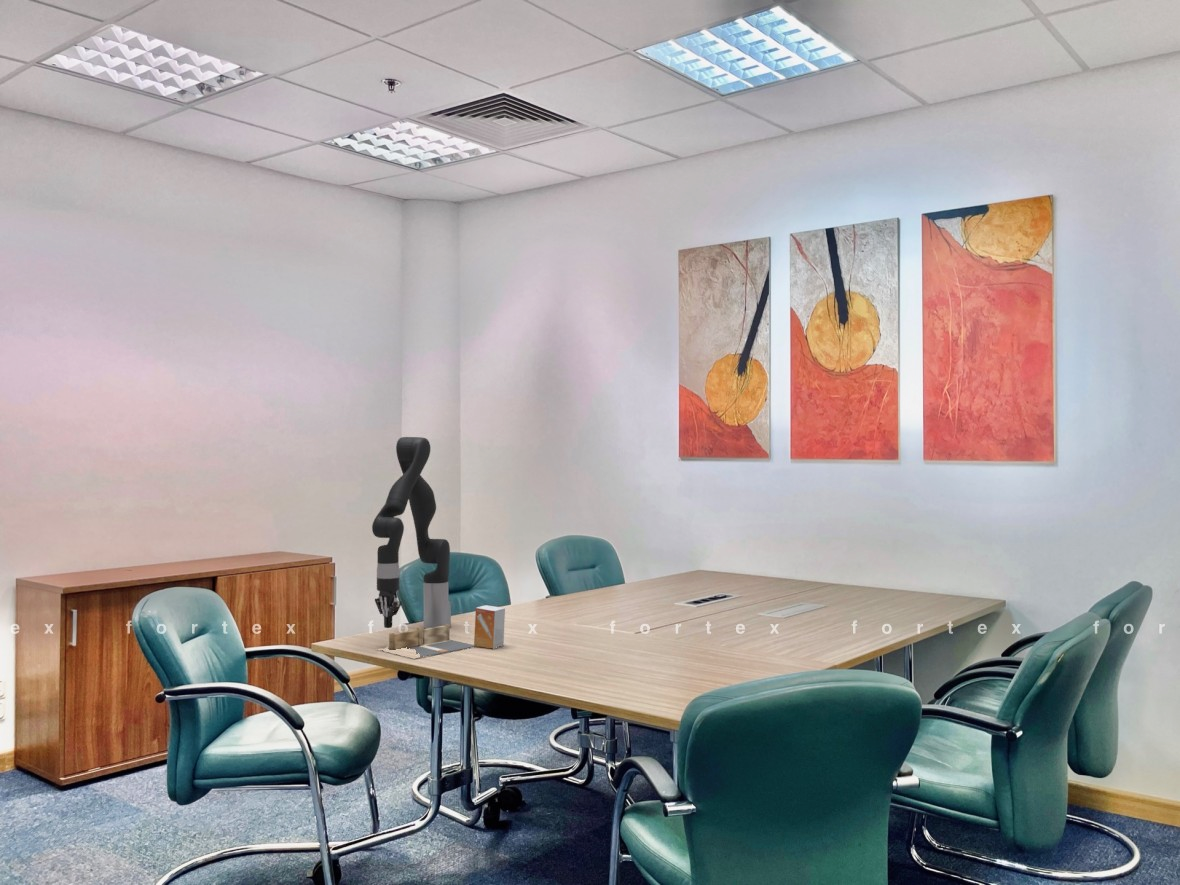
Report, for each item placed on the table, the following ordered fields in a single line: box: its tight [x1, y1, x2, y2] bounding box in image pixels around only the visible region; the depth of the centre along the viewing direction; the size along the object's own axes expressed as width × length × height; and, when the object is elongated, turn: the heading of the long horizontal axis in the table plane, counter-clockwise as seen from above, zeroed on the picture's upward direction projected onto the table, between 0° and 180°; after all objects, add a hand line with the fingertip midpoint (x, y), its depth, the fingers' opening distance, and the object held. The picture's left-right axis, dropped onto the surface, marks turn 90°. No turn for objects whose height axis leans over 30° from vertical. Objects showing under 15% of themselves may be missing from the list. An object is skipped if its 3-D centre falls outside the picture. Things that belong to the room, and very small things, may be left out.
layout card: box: [388, 639, 477, 657], centre depth 327 cm, size 26×21×1 cm
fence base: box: [416, 624, 450, 646], centre depth 334 cm, size 13×2×6 cm, turn 136°
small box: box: [473, 604, 506, 649], centre depth 330 cm, size 8×6×13 cm
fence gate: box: [388, 629, 418, 650], centre depth 325 cm, size 11×2×5 cm, turn 136°
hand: (388, 627), depth 329 cm, fingers closed
